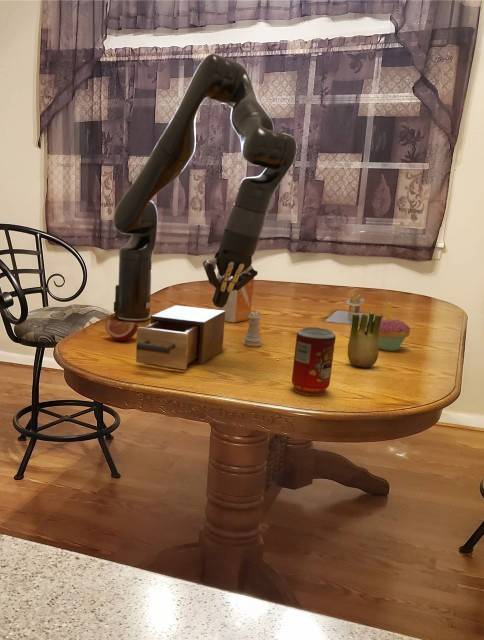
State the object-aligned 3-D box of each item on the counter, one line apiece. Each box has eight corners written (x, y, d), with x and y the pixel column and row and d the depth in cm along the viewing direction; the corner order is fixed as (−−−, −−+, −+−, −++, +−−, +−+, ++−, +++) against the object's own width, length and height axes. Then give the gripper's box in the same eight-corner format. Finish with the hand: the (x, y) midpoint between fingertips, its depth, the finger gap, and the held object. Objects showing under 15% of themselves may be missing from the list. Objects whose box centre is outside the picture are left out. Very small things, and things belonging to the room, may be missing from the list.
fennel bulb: (343, 365, 152) (350, 312, 148) (352, 361, 155) (359, 309, 151) (370, 371, 148) (378, 316, 144) (378, 366, 151) (386, 312, 148)
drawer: (176, 375, 141) (178, 338, 139) (126, 367, 147) (127, 331, 144) (206, 355, 156) (208, 321, 154) (160, 348, 162) (161, 316, 159)
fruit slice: (100, 339, 174) (100, 320, 172) (114, 334, 179) (115, 315, 177) (128, 344, 169) (129, 324, 167) (142, 339, 174) (143, 320, 172)
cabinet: (201, 364, 152) (204, 322, 149) (149, 356, 158) (150, 315, 155) (222, 350, 164) (225, 310, 161) (173, 343, 170) (175, 305, 167)
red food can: (317, 399, 130) (325, 336, 126) (283, 390, 135) (290, 329, 131) (335, 391, 134) (343, 330, 131) (302, 383, 139) (308, 324, 136)
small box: (235, 323, 192) (239, 276, 188) (216, 319, 196) (219, 274, 192) (250, 319, 197) (254, 273, 193) (231, 315, 201) (235, 271, 197)
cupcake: (390, 354, 161) (398, 303, 157) (360, 346, 168) (367, 297, 164) (414, 350, 165) (423, 300, 161) (384, 342, 172) (391, 294, 168)
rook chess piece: (262, 343, 170) (265, 311, 168) (261, 347, 166) (264, 315, 164) (243, 341, 172) (246, 310, 169) (242, 346, 168) (244, 314, 165)
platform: (324, 321, 194) (327, 298, 192) (337, 310, 209) (340, 289, 207) (369, 326, 188) (373, 302, 186) (379, 314, 203) (382, 292, 201)
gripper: (261, 229, 149) (235, 303, 157) (208, 220, 145) (184, 296, 153) (278, 239, 143) (251, 315, 150) (223, 229, 139) (198, 309, 146)
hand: (217, 306), depth 151 cm, fingers closed
